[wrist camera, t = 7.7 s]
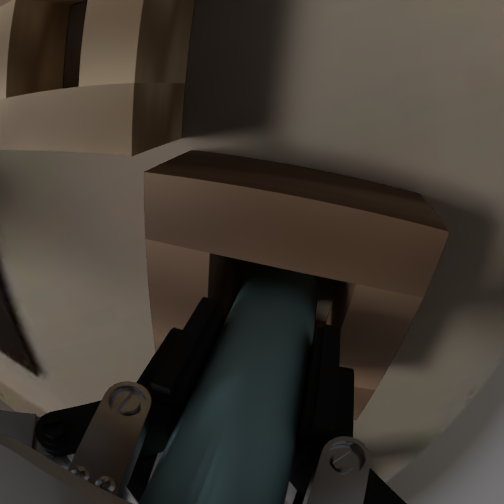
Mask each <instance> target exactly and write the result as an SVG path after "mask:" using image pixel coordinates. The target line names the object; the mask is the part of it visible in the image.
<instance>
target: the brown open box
mask: <svg viewBox="0 0 504 504" xmlns="http://www.w3.org/2000/svg"><path fill="white" fill-rule="evenodd" d="M144 213H145V239H146V258H147V273H148V286H149V297H150V308H151V318H152V327H153V335H154V344H155V351H157V350H158V348H159V347H160V345H161V344H162V342H163V341H164V339H165V337H166V336H167V334H168V333H169V331H170V330H171V329H172V328H174V327H175V328H178V329H182V330H183V328H184V327H185V325H186V323H187V322H188V320H189V318H190V317H191V315H192V314H193V312H194V310H195V309H196V307H197V305H198V304H199V302H200V300H201V299H202V298H203V297H206V298H210V299H214V300H219V302H220V305H221V306H224V320H223V325H224V323H225V321H226V319H227V317H228V314H229V312H230V310H231V308H232V306H233V304H234V302H232V291H233V280H234V270H235V259H240V260H244V261H249V262H254V263H258V264H263V265H268V266H272V267H277V268H282V269H286V270H291V271H296V272H301V273H305V274H310V275H315V276H320V277H325V278H329V279H334V280H339V282H338V285H337V288H336V292H335V295H334V298H333V301H332V305H331V308H330V311H329V314H328V317H327V320H326V322H321V321H316V320H315V324H314V333H313V338H314V335H315V332H316V329H317V327H320V328H323V326H324V324H327V325H332V326H337V327H340V329H341V333H340V364H339V366H341V367H347V368H352V369H354V419H353V420H357V418H358V417H359V415H360V414H361V412H362V411H363V409H364V408H365V406H366V404H367V403H368V401H369V400H370V398H371V396H372V395H373V393H374V392H375V390H376V388H377V387H378V385H379V383H380V381H381V380H382V378H383V376H384V375H385V373H386V371H387V369H388V367H389V366H390V364H391V362H392V360H393V358H394V357H395V355H396V353H397V351H398V349H399V347H400V345H401V343H402V341H403V340H404V338H405V336H406V334H407V332H408V330H409V328H410V326H411V323H412V321H413V319H414V317H415V315H416V313H417V311H418V309H419V307H420V304H421V302H422V300H423V298H424V295H425V293H426V291H427V289H428V286H429V284H430V282H431V279H432V277H433V274H434V272H435V269H436V267H437V264H438V262H439V259H440V257H441V254H442V251H443V249H444V246H445V243H446V241H447V238H448V235H449V231H448V229H447V228H446V227H445V225H444V224H443V223H442V221H441V220H440V219H439V217H438V216H437V215H436V214H435V212H434V211H433V210H432V209H431V207H430V206H429V205H428V204H427V202H426V201H425V200H424V199H423V198H422V196H421V195H420V194H417V193H414V192H410V191H406V190H402V189H398V188H394V187H391V186H387V185H382V184H378V183H374V182H370V181H366V180H361V179H357V178H353V177H348V176H343V175H339V174H334V173H329V172H324V171H319V170H314V169H309V168H304V167H299V166H293V165H288V164H282V163H276V162H270V161H264V160H258V159H252V158H245V157H238V156H231V155H224V154H216V153H209V152H201V151H192V150H191V151H188V152H186V153H184V154H182V155H179V156H177V157H175V158H173V159H171V160H168V161H166V162H164V163H162V164H160V165H158V166H156V167H153V168H151V169H149V170H147V171H145V172H144ZM312 342H313V341H312Z"/></svg>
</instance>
